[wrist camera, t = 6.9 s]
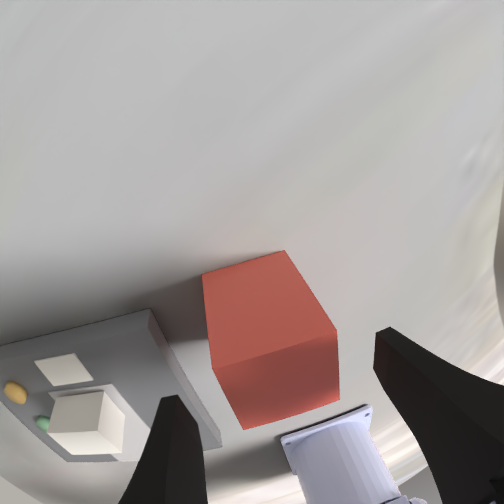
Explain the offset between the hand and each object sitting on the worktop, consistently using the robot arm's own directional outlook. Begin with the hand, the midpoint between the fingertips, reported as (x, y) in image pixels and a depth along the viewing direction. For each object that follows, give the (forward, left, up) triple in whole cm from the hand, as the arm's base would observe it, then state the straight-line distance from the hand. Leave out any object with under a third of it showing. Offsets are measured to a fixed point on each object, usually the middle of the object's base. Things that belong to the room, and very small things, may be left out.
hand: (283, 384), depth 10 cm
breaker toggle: (-4, +11, -4) cm, 12 cm away
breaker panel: (-5, +12, -6) cm, 14 cm away
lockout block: (0, 0, -6) cm, 6 cm away
